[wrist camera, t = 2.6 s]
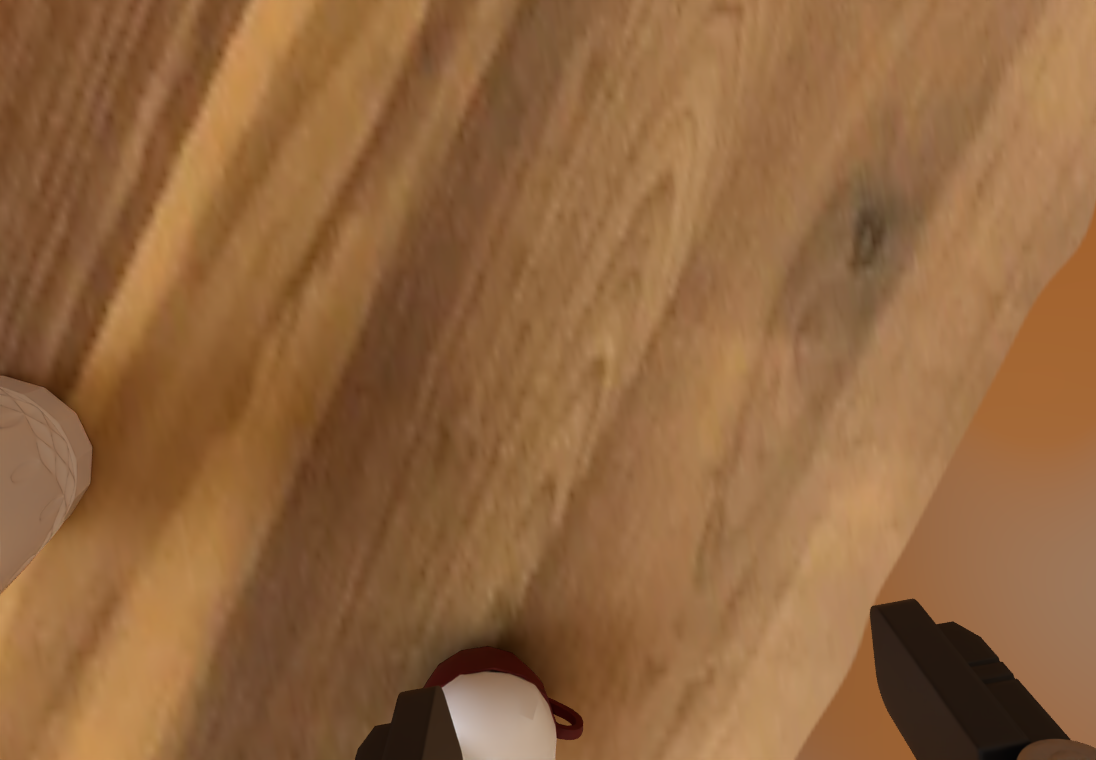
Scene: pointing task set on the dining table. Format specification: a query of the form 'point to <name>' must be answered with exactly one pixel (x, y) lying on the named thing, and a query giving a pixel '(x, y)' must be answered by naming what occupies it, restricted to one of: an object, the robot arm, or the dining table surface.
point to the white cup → (36, 471)
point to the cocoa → (501, 707)
